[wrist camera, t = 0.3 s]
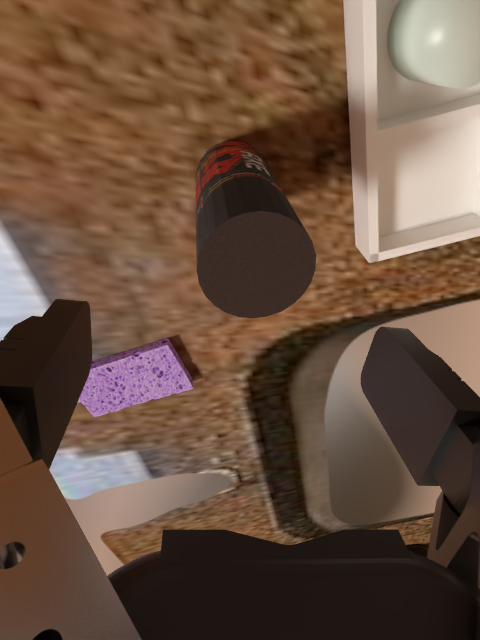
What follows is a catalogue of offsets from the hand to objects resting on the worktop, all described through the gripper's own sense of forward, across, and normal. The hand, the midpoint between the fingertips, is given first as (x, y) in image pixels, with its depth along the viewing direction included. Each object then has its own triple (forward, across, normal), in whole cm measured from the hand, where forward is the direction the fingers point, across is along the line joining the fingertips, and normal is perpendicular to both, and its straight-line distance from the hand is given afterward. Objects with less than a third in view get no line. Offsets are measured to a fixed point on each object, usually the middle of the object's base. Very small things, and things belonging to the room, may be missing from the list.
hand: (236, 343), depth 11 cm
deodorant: (+24, -2, -1) cm, 24 cm away
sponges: (+27, +7, +21) cm, 35 cm away
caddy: (+23, -15, -8) cm, 29 cm away
